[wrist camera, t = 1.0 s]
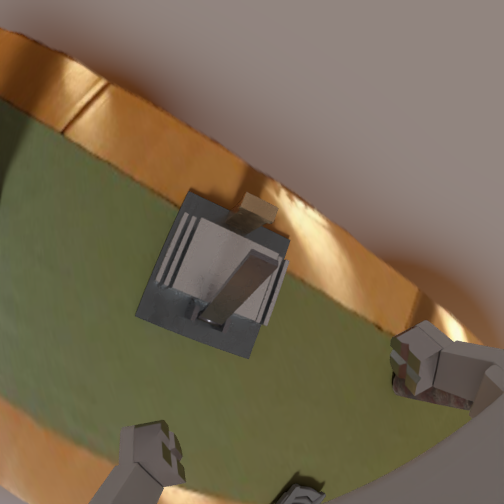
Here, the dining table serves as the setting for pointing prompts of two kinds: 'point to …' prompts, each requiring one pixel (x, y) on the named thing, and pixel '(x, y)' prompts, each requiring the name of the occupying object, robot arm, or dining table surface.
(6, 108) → the dining table surface
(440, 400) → the candle
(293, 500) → the graphics card
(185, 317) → the grey boxy piece
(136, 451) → the robot arm
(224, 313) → the retention strap
